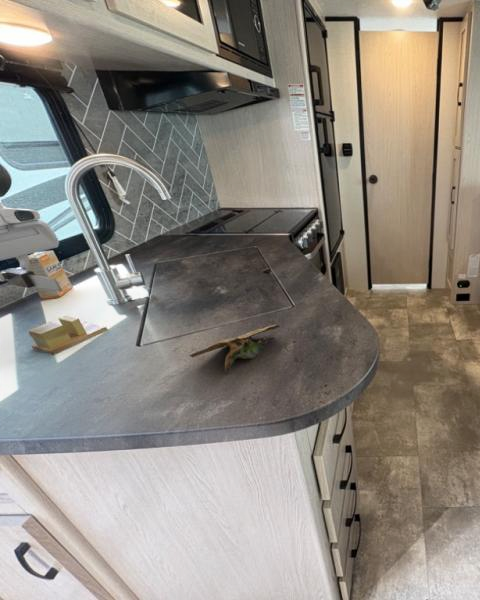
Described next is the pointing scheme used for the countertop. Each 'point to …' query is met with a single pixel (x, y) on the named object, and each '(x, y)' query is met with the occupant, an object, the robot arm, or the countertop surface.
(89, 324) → the butter board
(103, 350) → the countertop surface
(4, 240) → the robot arm
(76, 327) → the butter slice
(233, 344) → the dried leafy seed pod
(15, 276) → the knife
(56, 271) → the supplement box
